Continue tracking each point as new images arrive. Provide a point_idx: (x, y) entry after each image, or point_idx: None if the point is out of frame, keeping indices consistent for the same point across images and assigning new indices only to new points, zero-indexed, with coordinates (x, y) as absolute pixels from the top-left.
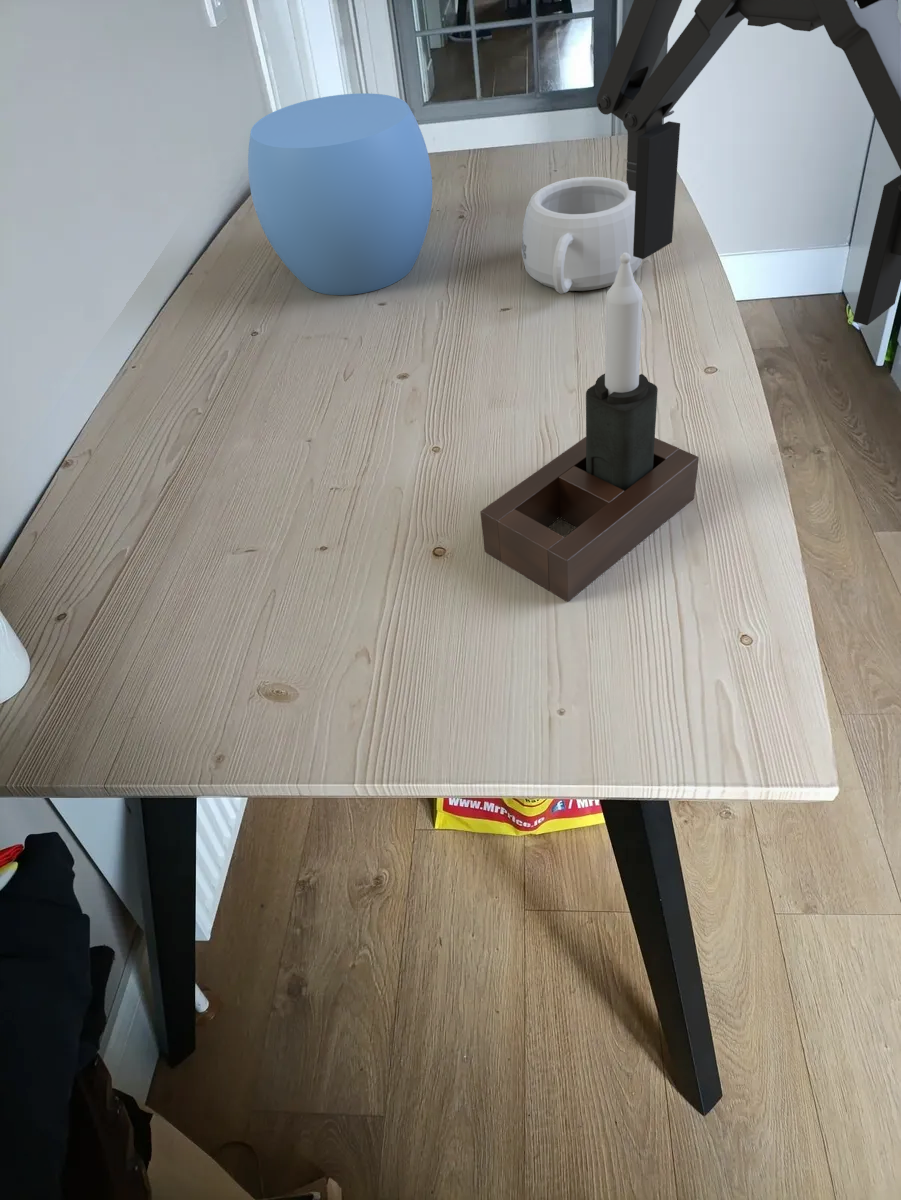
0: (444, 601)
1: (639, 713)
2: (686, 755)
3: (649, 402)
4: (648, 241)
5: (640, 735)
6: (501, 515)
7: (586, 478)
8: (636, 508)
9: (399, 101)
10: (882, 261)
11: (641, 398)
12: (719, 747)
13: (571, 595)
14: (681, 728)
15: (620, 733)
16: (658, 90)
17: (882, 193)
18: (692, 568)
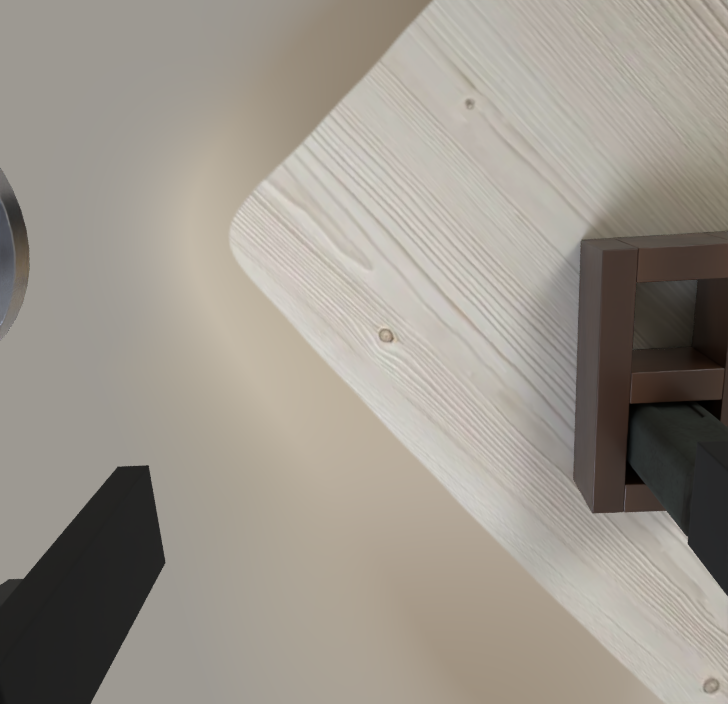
0: (714, 125)
1: (402, 169)
2: (329, 162)
3: (678, 507)
4: (714, 475)
5: (381, 146)
6: None
7: (689, 390)
8: (595, 388)
9: None
10: (54, 543)
11: (690, 502)
12: (313, 196)
13: (582, 248)
14: (356, 187)
15: (399, 131)
16: None
17: (5, 652)
18: (500, 384)
